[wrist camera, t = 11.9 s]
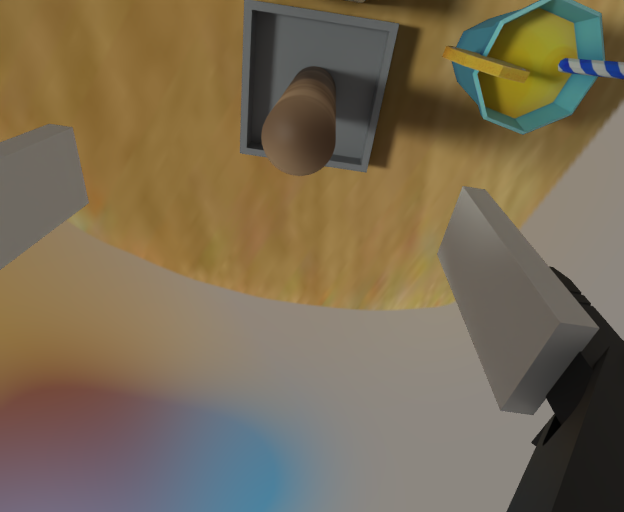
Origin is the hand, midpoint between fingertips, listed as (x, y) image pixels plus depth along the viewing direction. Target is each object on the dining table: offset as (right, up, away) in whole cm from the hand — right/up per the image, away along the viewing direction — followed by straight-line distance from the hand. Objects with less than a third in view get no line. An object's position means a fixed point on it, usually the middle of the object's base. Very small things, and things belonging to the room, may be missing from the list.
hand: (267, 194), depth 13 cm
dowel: (+2, +13, +21) cm, 24 cm away
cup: (+17, +15, +19) cm, 29 cm away
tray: (+2, +13, +21) cm, 25 cm away
